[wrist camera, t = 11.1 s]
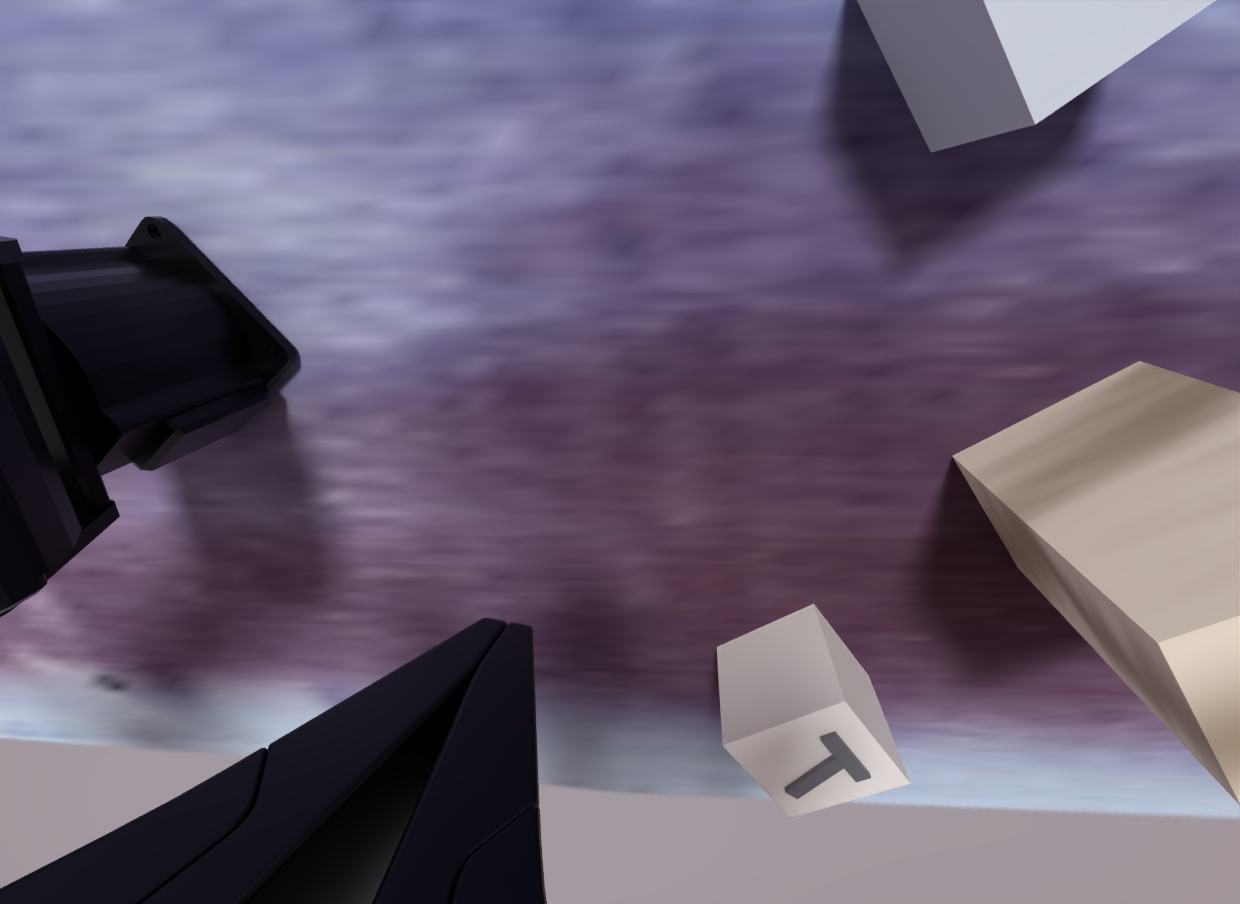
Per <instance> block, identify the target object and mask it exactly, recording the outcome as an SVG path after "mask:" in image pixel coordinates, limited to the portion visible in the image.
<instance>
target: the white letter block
mask: <svg viewBox="0 0 1240 904" xmlns="http://www.w3.org/2000/svg"><path fill="white" fill-rule="evenodd" d="M717 662H718V678H719V695H720V711H721V728H722V745H723V747H724V748H725V749H726V750H727V751H728V752H729V753H730V754H731V755H732V756H733V757H734V758H735V759H736V760H737V762H738V763H739V764H740V765H741V766H742V767H743V768H744V769H745V770H746V771H747V772H748V773H749V774H750V775H751V776H752V778H753V779H754V780H755V781H756V782H757V783H758V784H759V785H760V786H761V787H762V788H763V789H764V790H765V791H766V792H767V794H768V795H769V796H770V797H771V798H772V799H773V800H774V801H775V802H776V803H777V804H778V805H779V806H780V807H781V808H782V810H783V811H784V812H785V813H787V815H788V816H789V817H790V818H792V817H795V816H798V815H802V814H806V813H809V812H813V811H816V810H820V809H823V808H827V807H830V806H834V805H837V804H841V803H844V802H847V801H851V800H854V799H858V798H861V797H865V796H868V795H872V794H875V793H879V792H882V791H886V790H889V789H893V788H896V787H900V786H903V785H906V784H910V781H909V778H908V776H907V773H906V771H905V768H904V766H903V763H902V760H901V758H900V755H899V753H898V750H897V747H896V745H895V742H894V740H893V737H892V735H891V732H890V729H889V727H888V724H887V722H886V719H885V717H884V714H883V711H882V709H881V706H880V704H879V701H878V699H877V696H876V693H875V691H874V688H873V686H872V683H871V681H870V678H869V676H868V674H867V673H866V672H865V670H864V669H863V668H862V666H861V665H860V664H859V662H858V661H857V660H856V659H855V657H854V656H853V655H852V653H851V652H850V651H849V649H848V648H847V647H846V645H845V644H844V643H843V641H842V640H841V639H840V638H839V636H838V635H837V634H836V632H835V631H834V630H833V628H832V627H831V626H830V624H829V623H828V622H827V620H826V619H825V618H824V617H823V615H822V614H821V613H820V611H819V610H818V609H817V607H816V606H815V605H814V604H812V605H810V606H808V607H805V608H803V609H801V610H799V611H796V612H794V613H792V614H790V615H787V616H785V617H783V618H781V619H778V620H776V621H774V622H772V623H770V624H767V625H765V626H763V627H761V628H758V629H756V630H754V631H752V632H749V633H747V634H745V635H743V636H740V637H738V638H736V639H734V640H731V641H729V642H727V643H725V644H722V645H720V646H718V647H717Z"/></svg>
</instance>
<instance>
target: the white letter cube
mask: <svg viewBox="0 0 1240 904" xmlns="http://www.w3.org/2000/svg"><path fill="white" fill-rule="evenodd" d="M1214 1H1216V0H857V2H858V4H859V6H860V8H861V10H862V12H863V14H864V16H865V18H866V20H867V22H868V24H869V27H870V29H871V31H872V33H873V35H874V37H875V39H876V41H877V43H878V45H879V47H880V49H881V51H882V53H883V55H884V57H885V59H886V61H887V63H888V66H889V68H890V70H891V72H892V74H893V76H894V78H895V80H896V82H897V84H898V86H899V88H900V90H901V92H902V94H903V96H904V98H905V100H906V102H907V105H908V107H909V109H910V111H911V113H912V115H913V117H914V119H915V121H916V123H917V125H918V127H919V129H920V131H921V133H922V135H923V137H924V139H925V142H926V144H927V146H928V148H929V150H930V152H935V151H939V150H943V149H946V148H950V147H954V146H958V145H961V144H965V143H969V142H973V141H976V140H980V139H984V138H987V137H991V136H995V135H999V134H1002V133H1006V132H1010V131H1014V130H1017V129H1021V128H1025V127H1029V126H1032V125H1036V124H1037V123H1039V122H1040V121H1041V120H1043V119H1044V118H1046V117H1047V116H1049V115H1050V114H1052V113H1053V112H1055V111H1056V110H1057V109H1059V108H1060V107H1062V106H1063V105H1065V104H1066V103H1068V102H1069V101H1070V100H1072V99H1073V98H1075V97H1076V96H1078V95H1079V94H1081V93H1082V92H1084V91H1085V90H1086V89H1088V88H1089V87H1091V86H1092V85H1094V84H1095V83H1097V82H1098V81H1100V80H1101V79H1102V78H1104V77H1105V76H1107V75H1108V74H1110V73H1111V72H1113V71H1114V70H1116V69H1117V68H1118V67H1120V66H1121V65H1123V64H1124V63H1126V62H1127V61H1129V60H1130V59H1131V58H1133V57H1134V56H1136V55H1137V54H1139V53H1140V52H1142V51H1143V50H1145V49H1146V48H1147V47H1149V46H1150V45H1152V44H1153V43H1155V42H1156V41H1158V40H1159V39H1161V38H1162V37H1163V36H1165V35H1166V34H1168V33H1169V32H1171V31H1172V30H1174V29H1175V28H1176V27H1178V26H1179V25H1181V24H1182V23H1184V22H1185V21H1187V20H1188V19H1190V18H1191V17H1192V16H1194V15H1195V14H1197V13H1198V12H1200V11H1201V10H1203V9H1204V8H1206V7H1207V6H1208V5H1210V4H1211V3H1213V2H1214Z"/></svg>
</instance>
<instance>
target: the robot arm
mask: <svg viewBox="0 0 1240 904" xmlns="http://www.w3.org/2000/svg"><path fill="white" fill-rule="evenodd" d="M158 228H159V230H160V232H161V235H160V234H159V231H158ZM277 349H278V350H279V351H280V352H281V354H282V357H281V356H280V355H279V354H278V352H277ZM294 360H295V351H294V349H293V347H292V346H291V345H290V344H289V343H288V342H287V341H286V339H285V338H284V337H283V336H282V335H281V334H280V333H279V332H278V331H277V330H276V329H275V328H274V327H273V326H272V325H271V324H270V323H269V322H268V321H267V320H266V319H265V318H264V317H263V316H262V315H261V314H260V313H259V312H258V311H257V310H256V309H255V308H254V307H253V306H252V305H251V304H250V303H249V302H248V301H247V300H246V299H245V298H244V296H243V295H242V294H241V293H240V292H239V291H238V290H237V289H236V288H235V287H234V286H233V285H232V284H231V283H230V282H229V281H228V280H227V279H226V278H225V277H224V276H223V275H222V274H221V273H220V272H219V271H218V270H217V269H216V268H215V267H214V266H213V265H212V264H211V263H210V262H209V261H208V260H207V259H206V258H205V257H204V256H203V255H202V254H201V252H200V251H199V250H198V249H197V248H196V247H195V246H194V245H193V244H192V243H191V242H190V241H189V240H188V239H187V238H186V237H185V236H184V235H183V234H182V233H181V232H180V231H179V230H178V229H177V228H176V227H175V226H174V225H173V224H172V223H171V222H170V221H169V220H167V219H166V218H163V217H145V218H144V219H143V220H142V221H141V222H140V224H139V225H138V227H137V228H136V230H135V231H134V233H133V234H132V236H131V237H130V239H129V241H128V242H127V244H126V245H125V247H105V248H86V249H66V250H47V251H27V252H21V249H20V246H19V244H18V241H17V239H14V238H8V237H1V236H0V617H1V616H3V615H5V614H7V613H8V612H10V611H11V610H12V609H14V608H15V607H16V606H18V605H19V604H20V603H22V602H23V601H25V600H27V599H28V598H30V597H32V596H33V595H35V594H37V593H38V592H39V591H40V590H41V589H42V588H43V587H44V586H45V585H46V584H47V581H48V579H49V578H50V577H52V576H53V575H54V574H55V573H56V572H57V571H58V570H60V569H61V568H62V567H63V566H64V565H65V564H66V563H67V562H69V561H70V560H71V559H72V558H73V557H74V556H75V555H77V554H78V553H79V552H80V551H81V550H82V549H83V548H85V547H86V546H87V545H88V544H89V543H90V542H91V541H92V540H94V539H95V538H96V537H97V536H98V535H99V534H100V533H102V532H103V531H104V530H105V529H106V528H107V527H108V526H110V525H111V524H112V523H113V522H114V521H115V520H116V519H117V518H119V516H120V515H119V512H118V510H117V507H116V504H115V502H114V501H113V500H110V499H109V496H108V493H107V491H106V488H105V485H104V483H103V480H102V477H101V476H102V475H104V474H106V473H109V472H111V471H113V470H116V469H118V468H120V467H122V466H125V465H127V464H129V463H133V464H134V465H135V466H137V467H138V468H139V469H140V470H149V471H153V470H155V469H157V468H159V467H161V466H164V465H166V464H168V463H170V462H172V461H174V460H176V459H178V458H181V457H183V456H185V455H187V454H189V453H191V452H193V451H195V450H198V449H200V448H202V447H204V446H206V445H208V444H210V443H212V442H215V441H217V440H219V439H221V438H223V437H225V436H227V435H229V434H232V433H234V432H236V431H238V430H239V429H241V428H242V427H243V426H244V425H245V424H246V422H247V421H248V420H249V419H250V418H251V417H252V416H253V415H254V414H255V413H256V412H257V411H258V410H259V409H260V408H261V407H262V406H263V405H264V404H265V403H266V402H267V401H268V400H269V398H270V391H269V390H268V388H269V387H270V386H271V385H272V384H273V383H274V382H275V381H276V380H277V379H278V378H279V377H280V375H281V374H282V373H283V372H284V371H285V370H286V369H287V368H288V367H289V366H290V365H291V364H292V363H293V362H294ZM0 904H547V901H546V894H545V887H544V872H543V860H542V846H541V825H540V809H539V784H538V757H537V731H536V705H535V679H534V652H533V630H532V627H530V626H528V625H522V624H517V623H509V624H507V623H506V622H505V621H502V620H496V619H491V618H483V619H481V620H479V621H477V622H476V623H474V624H472V625H470V626H469V627H467V628H465V629H464V630H462V631H460V632H459V633H457V634H455V635H454V636H452V637H450V638H449V639H447V640H445V641H443V642H442V643H440V644H438V645H437V646H435V647H433V648H432V649H430V650H428V651H427V652H425V653H423V654H421V655H420V656H418V657H416V658H415V659H413V660H411V661H410V662H408V663H406V664H405V665H403V666H401V667H400V668H398V669H396V670H394V671H393V672H391V673H389V674H388V675H386V676H384V677H383V678H381V679H379V680H378V681H376V682H374V683H372V684H371V685H369V686H367V687H366V688H364V689H362V690H361V691H359V692H357V693H356V694H354V695H352V696H351V697H349V698H347V699H345V700H344V701H342V702H340V703H339V704H337V705H335V706H334V707H332V708H330V709H329V710H327V711H325V712H323V713H322V714H320V715H318V716H317V717H315V718H313V719H312V720H310V721H308V722H307V723H305V724H303V725H302V726H300V727H298V728H296V729H295V730H293V731H291V732H290V733H288V734H286V735H285V736H283V737H281V738H280V739H278V740H276V741H274V742H273V743H271V744H270V745H269V747H268V750H267V749H266V748H261V749H259V750H257V751H256V752H254V753H252V754H251V755H249V756H247V757H246V758H244V759H242V760H241V761H239V762H237V763H235V764H234V765H232V766H230V767H229V768H227V769H225V770H223V771H222V772H220V773H218V774H216V775H215V776H213V777H211V778H209V779H208V780H206V781H204V782H202V783H200V784H199V785H197V786H195V787H193V788H192V789H190V790H188V791H186V792H185V793H183V794H181V795H179V796H178V797H176V798H174V799H172V800H170V801H168V802H167V803H165V804H163V805H161V806H159V807H157V808H155V809H153V810H151V811H150V812H148V813H146V814H144V815H142V816H140V817H138V818H136V819H134V820H132V821H131V822H129V823H127V824H125V825H123V826H121V827H119V828H117V829H115V830H114V831H112V832H110V833H108V834H106V835H104V836H102V837H100V838H98V839H96V840H94V841H92V842H90V843H88V844H86V845H85V846H83V847H81V848H79V849H77V850H75V851H73V852H71V853H69V854H67V855H65V856H63V857H61V858H59V859H57V860H56V861H53V862H51V863H49V864H47V865H45V866H43V867H42V868H40V869H38V870H36V871H34V872H32V873H30V874H28V875H26V876H24V877H22V878H20V879H18V880H16V881H14V882H12V883H10V884H8V885H6V886H4V887H2V888H0Z"/></svg>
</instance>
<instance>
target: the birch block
mask: <svg viewBox="0 0 1240 904" xmlns="http://www.w3.org/2000/svg"><path fill="white" fill-rule="evenodd" d="M952 457H953V458H954V460H955V462H956V463H957V465H958V467H959V468H960V470H961V472H962V474H963V475H964V477H965V479H966V480H967V482H968V484H969V485H970V487H971V489H972V491H973V492H974V494H975V496H976V497H977V499H978V501H979V502H980V504H981V506H982V508H983V509H984V511H985V513H986V514H987V516H988V518H989V519H990V521H991V523H992V525H993V526H994V528H995V530H996V531H997V533H998V535H999V536H1000V538H1001V540H1002V542H1003V543H1004V545H1005V547H1006V548H1007V550H1008V552H1009V553H1010V555H1011V557H1012V559H1013V560H1014V562H1015V564H1016V565H1017V567H1018V569H1019V570H1020V571H1021V572H1022V573H1023V574H1024V575H1025V576H1026V577H1027V578H1028V579H1029V580H1030V581H1031V582H1032V583H1033V585H1034V586H1035V587H1036V588H1037V589H1038V590H1039V591H1040V592H1041V593H1042V594H1043V595H1044V596H1045V597H1046V598H1047V600H1048V601H1049V602H1050V603H1051V604H1052V605H1053V606H1054V607H1055V608H1056V609H1057V610H1058V611H1059V612H1060V613H1061V614H1062V616H1063V617H1064V618H1065V619H1066V620H1067V621H1068V622H1069V623H1070V624H1071V625H1072V626H1073V627H1074V628H1075V629H1076V630H1077V632H1078V633H1079V634H1080V635H1081V636H1082V637H1083V638H1084V639H1085V640H1086V641H1087V642H1088V643H1089V644H1090V645H1091V646H1092V648H1093V649H1094V650H1095V651H1096V652H1097V653H1098V654H1099V655H1100V656H1101V657H1102V658H1103V659H1104V660H1105V661H1106V663H1107V664H1108V665H1109V666H1110V667H1111V668H1112V669H1113V670H1114V671H1115V672H1116V673H1117V674H1118V675H1119V676H1120V677H1121V679H1122V680H1123V681H1124V682H1125V683H1126V684H1127V685H1128V686H1129V687H1130V688H1131V689H1132V690H1133V691H1134V692H1135V693H1136V695H1137V696H1138V697H1139V698H1140V699H1141V700H1142V701H1143V702H1144V703H1145V704H1146V705H1147V706H1148V707H1149V708H1150V710H1151V711H1152V712H1153V713H1154V714H1155V715H1156V716H1157V717H1158V718H1159V719H1160V720H1161V721H1162V722H1163V723H1164V724H1165V726H1166V727H1167V728H1168V729H1169V730H1170V731H1171V732H1172V733H1173V734H1174V735H1175V736H1176V737H1177V738H1178V739H1179V740H1180V742H1181V743H1182V744H1183V745H1184V746H1185V747H1186V748H1187V749H1188V750H1189V751H1190V752H1191V753H1192V754H1193V755H1194V757H1195V758H1196V759H1197V760H1198V761H1199V762H1200V763H1201V764H1202V765H1203V766H1204V767H1205V768H1206V769H1207V770H1208V771H1209V773H1210V774H1211V775H1212V776H1213V777H1214V778H1215V779H1216V780H1217V781H1218V782H1219V783H1220V784H1221V785H1222V786H1223V787H1224V789H1225V790H1226V791H1227V792H1228V793H1229V794H1230V795H1231V796H1232V797H1233V798H1234V799H1235V800H1236V801H1237V802H1238V804H1239V805H1240V393H1238V392H1235V391H1232V390H1228V389H1225V388H1222V387H1219V386H1216V385H1213V384H1210V383H1207V382H1203V381H1200V380H1197V379H1194V378H1191V377H1188V376H1185V375H1181V374H1178V373H1175V372H1172V371H1169V370H1166V369H1163V368H1160V367H1156V366H1153V365H1150V364H1147V363H1144V362H1141V361H1139V362H1137V363H1135V364H1133V365H1131V366H1129V367H1127V368H1125V369H1123V370H1121V371H1119V372H1117V373H1115V374H1113V375H1111V376H1109V377H1107V378H1105V379H1103V380H1101V381H1099V382H1097V383H1095V384H1093V385H1091V386H1089V387H1087V388H1085V389H1083V390H1081V391H1079V392H1078V393H1076V394H1074V395H1072V396H1070V397H1068V398H1066V399H1064V400H1062V401H1060V402H1058V403H1056V404H1054V405H1052V406H1050V407H1048V408H1046V409H1044V410H1042V411H1040V412H1038V413H1036V414H1034V415H1032V416H1030V417H1028V418H1026V419H1024V420H1022V421H1020V422H1018V423H1016V424H1014V425H1012V426H1010V427H1009V428H1007V429H1005V430H1003V431H1001V432H999V433H997V434H995V435H993V436H991V437H989V438H987V439H985V440H983V441H981V442H979V443H977V444H975V445H973V446H971V447H969V448H967V449H965V450H963V451H961V452H959V453H957V454H955V455H953V456H952Z"/></svg>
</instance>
